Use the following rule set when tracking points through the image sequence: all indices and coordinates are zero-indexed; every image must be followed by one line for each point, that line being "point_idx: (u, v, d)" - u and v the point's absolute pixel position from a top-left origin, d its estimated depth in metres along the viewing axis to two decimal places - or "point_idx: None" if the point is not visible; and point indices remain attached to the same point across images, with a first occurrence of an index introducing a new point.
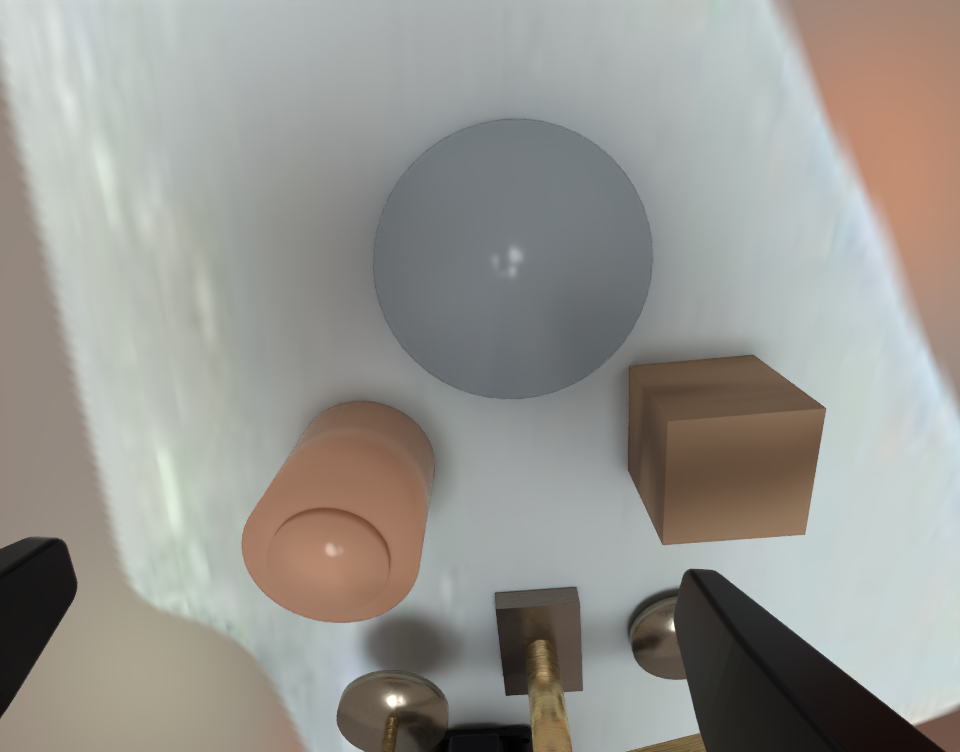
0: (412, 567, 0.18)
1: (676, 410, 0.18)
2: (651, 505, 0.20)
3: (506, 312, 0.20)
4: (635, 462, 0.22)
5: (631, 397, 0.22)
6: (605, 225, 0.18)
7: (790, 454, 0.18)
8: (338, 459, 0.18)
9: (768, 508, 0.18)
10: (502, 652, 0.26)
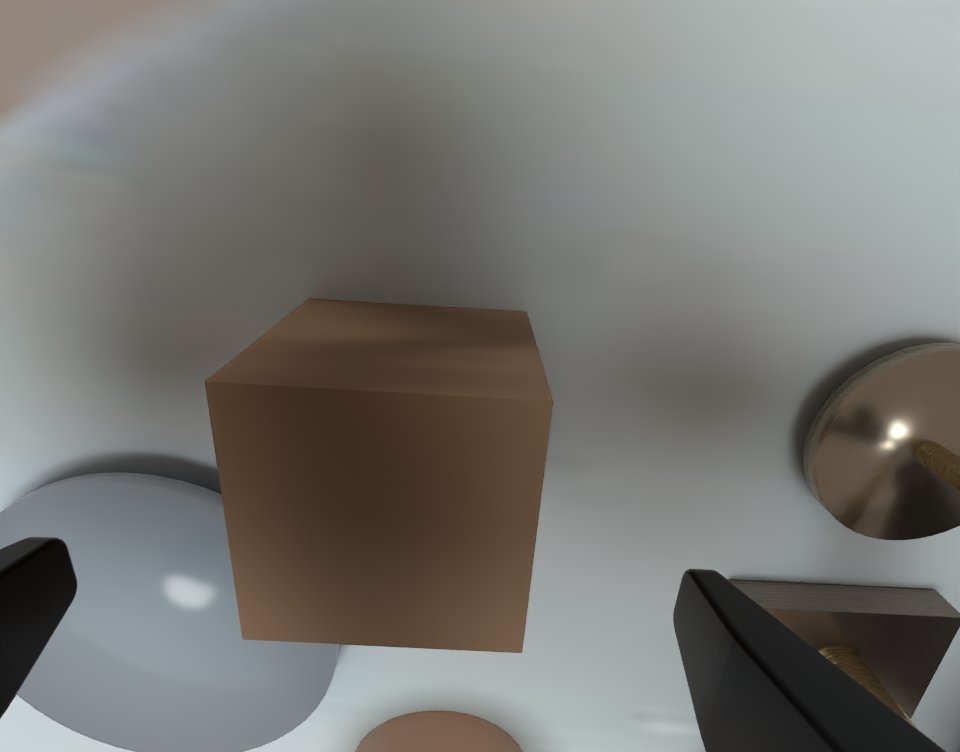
0: None
1: None
2: None
3: (207, 649, 0.15)
4: None
5: None
6: (76, 536, 0.13)
7: (321, 444, 0.08)
8: None
9: (461, 479, 0.08)
10: None
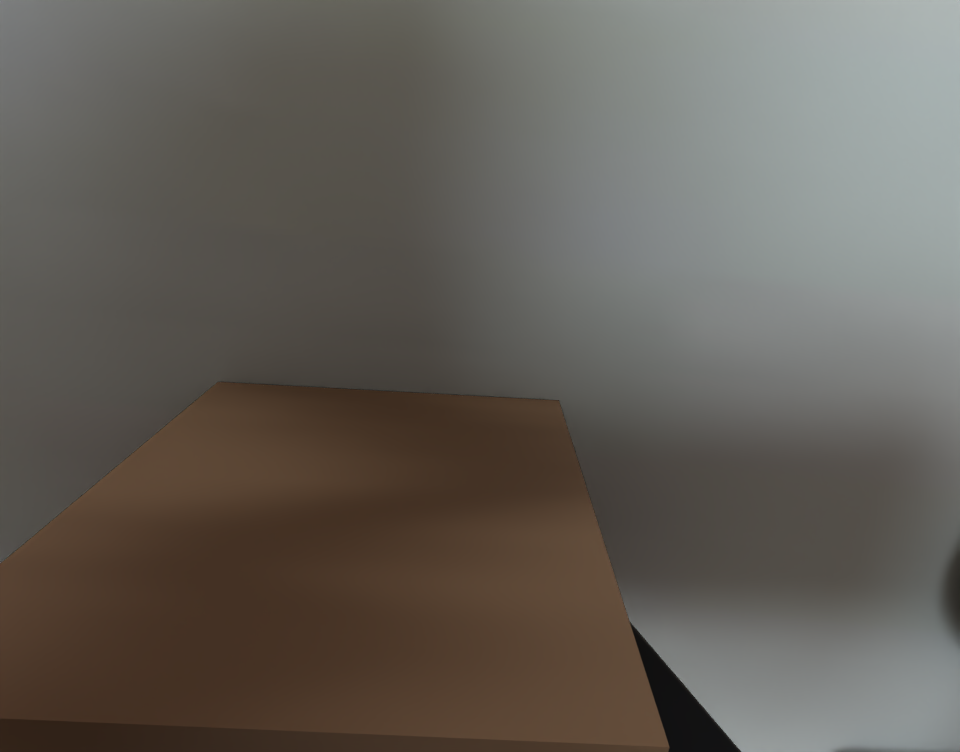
0: None
1: None
2: None
3: None
4: None
5: None
6: None
7: None
8: None
9: None
10: None
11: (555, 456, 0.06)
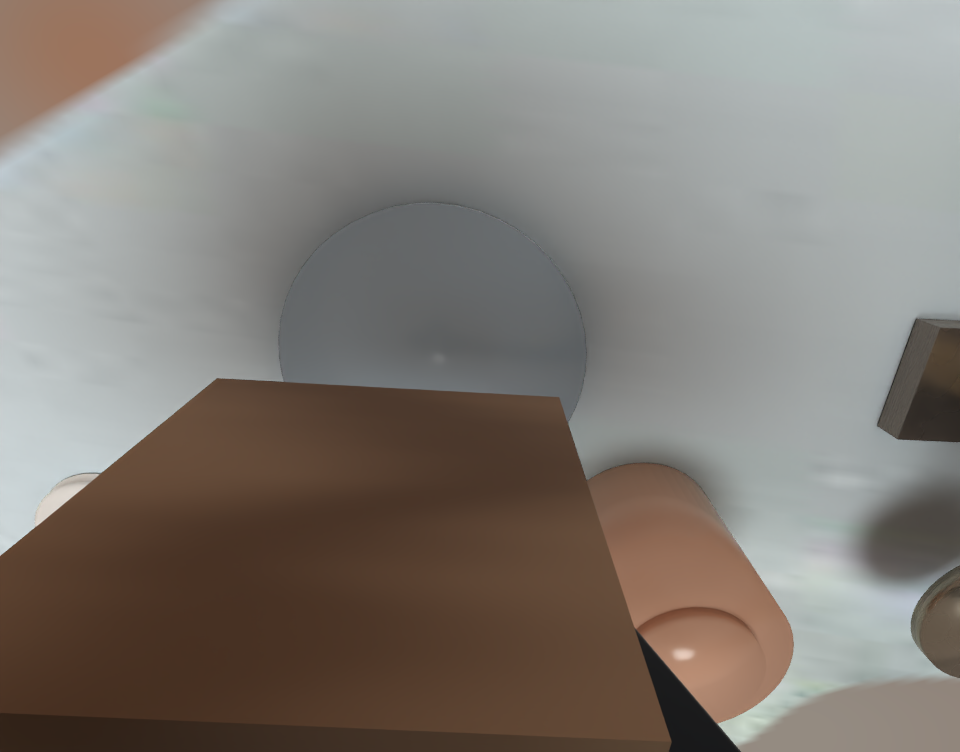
0: (732, 589, 0.14)
1: None
2: None
3: (476, 375, 0.17)
4: None
5: None
6: (389, 259, 0.16)
7: None
8: None
9: None
10: None
11: (556, 452, 0.06)
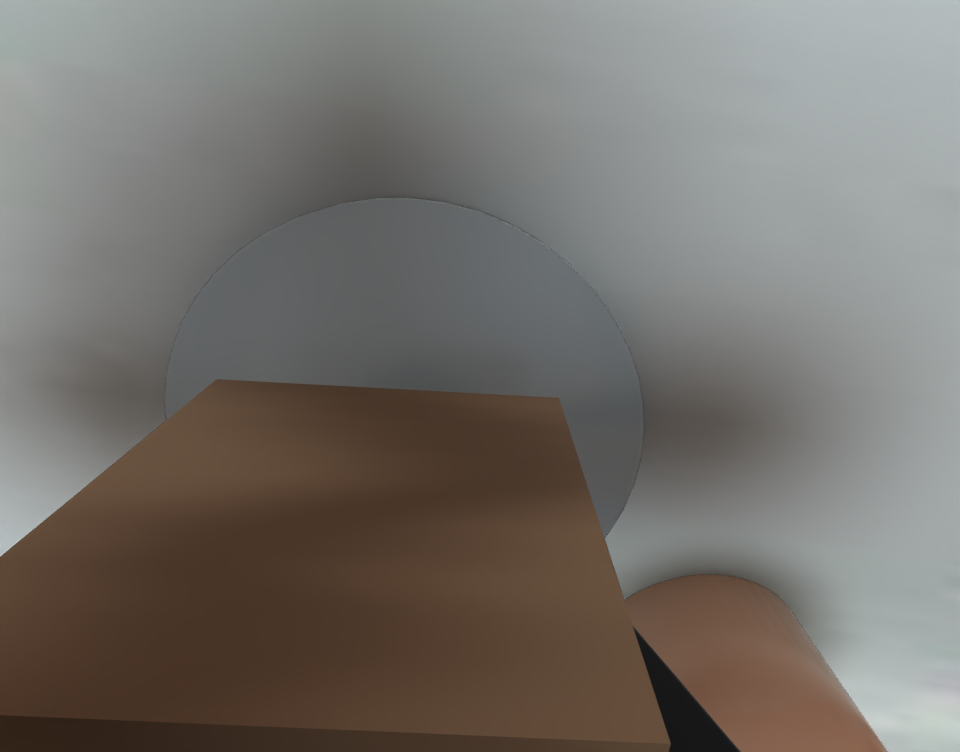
0: None
1: None
2: None
3: None
4: None
5: None
6: (336, 287, 0.10)
7: None
8: None
9: None
10: None
11: (555, 453, 0.06)
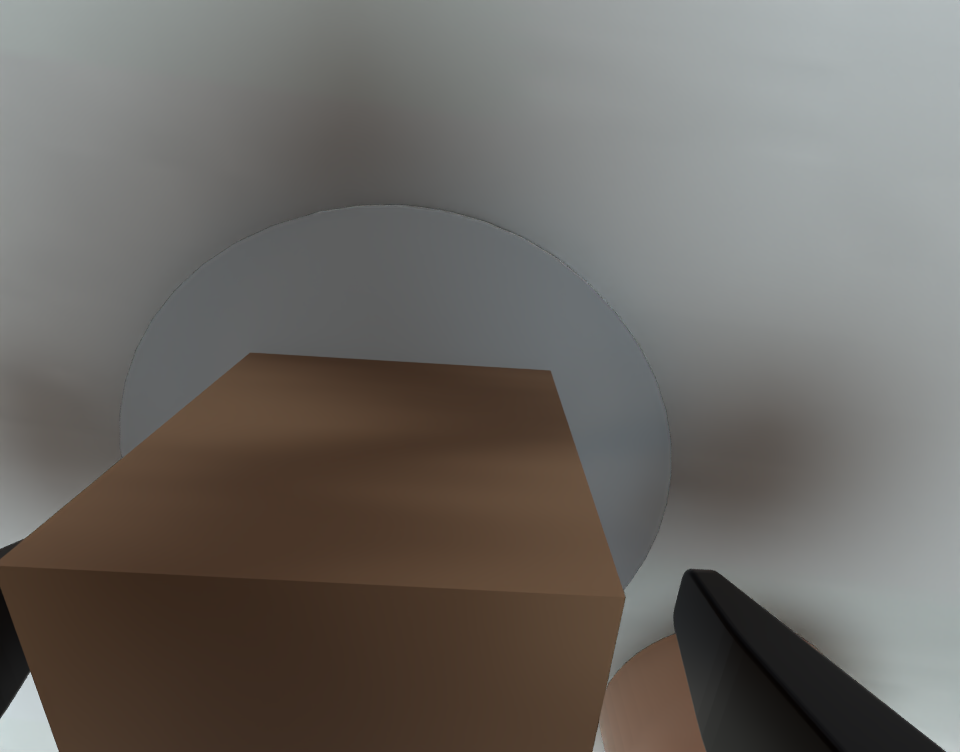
0: None
1: None
2: None
3: None
4: None
5: None
6: (315, 309, 0.09)
7: (215, 660, 0.05)
8: None
9: (460, 710, 0.05)
10: None
11: (546, 411, 0.07)
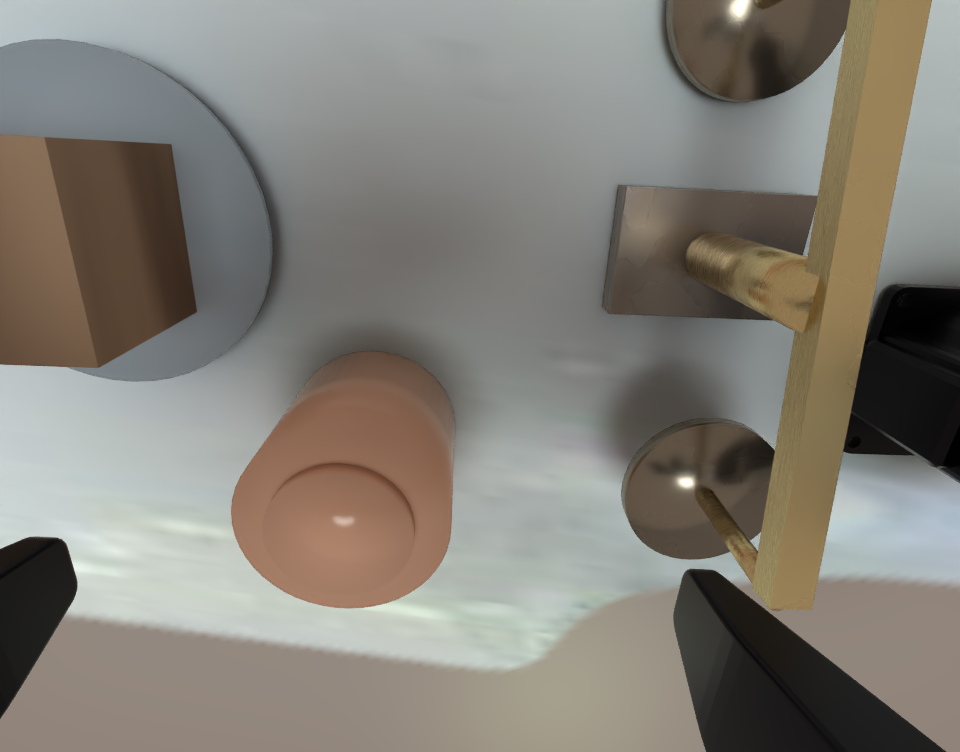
0: (364, 441, 0.14)
1: None
2: None
3: None
4: None
5: None
6: (24, 105, 0.15)
7: None
8: None
9: None
10: (694, 314, 0.18)
11: None
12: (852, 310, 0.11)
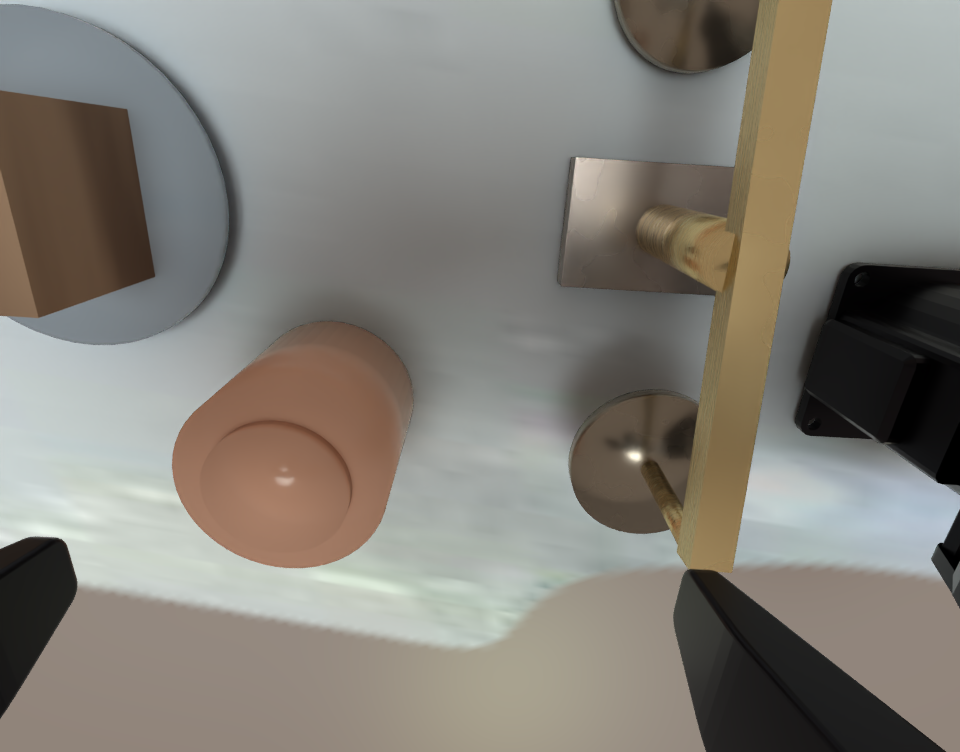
0: (299, 398, 0.14)
1: None
2: None
3: None
4: None
5: None
6: None
7: None
8: None
9: None
10: (646, 288, 0.18)
11: None
12: (766, 267, 0.11)
